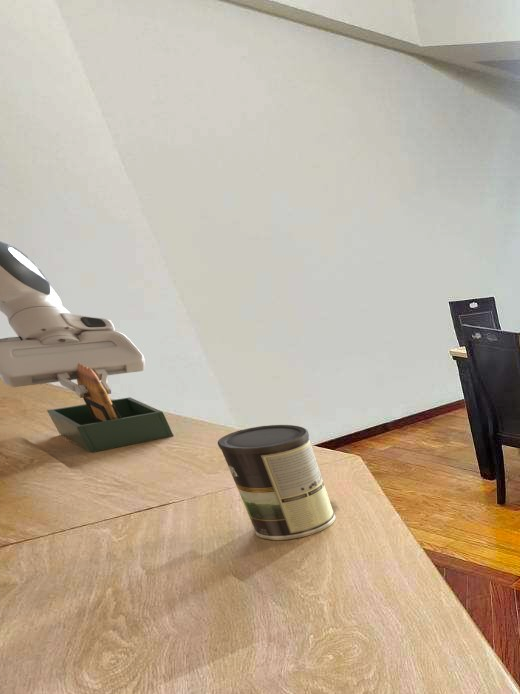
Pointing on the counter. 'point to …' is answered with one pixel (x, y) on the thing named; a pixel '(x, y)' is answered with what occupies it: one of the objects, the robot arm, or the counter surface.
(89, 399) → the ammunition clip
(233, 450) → the coffee can
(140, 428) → the tray
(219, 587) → the counter surface
